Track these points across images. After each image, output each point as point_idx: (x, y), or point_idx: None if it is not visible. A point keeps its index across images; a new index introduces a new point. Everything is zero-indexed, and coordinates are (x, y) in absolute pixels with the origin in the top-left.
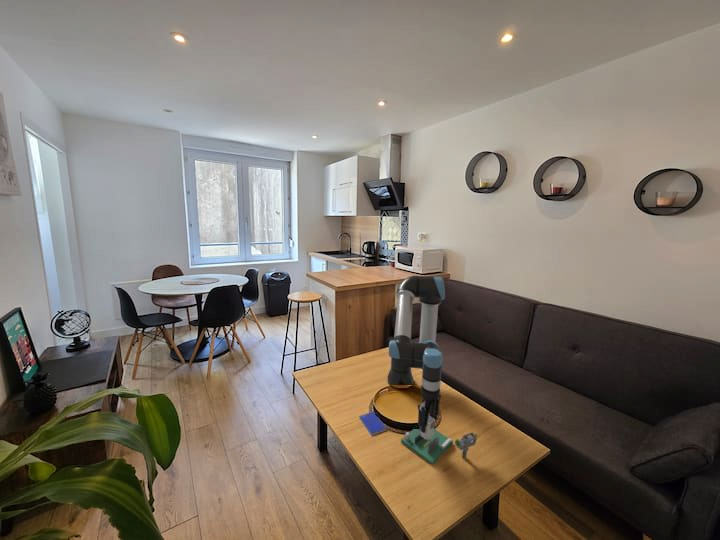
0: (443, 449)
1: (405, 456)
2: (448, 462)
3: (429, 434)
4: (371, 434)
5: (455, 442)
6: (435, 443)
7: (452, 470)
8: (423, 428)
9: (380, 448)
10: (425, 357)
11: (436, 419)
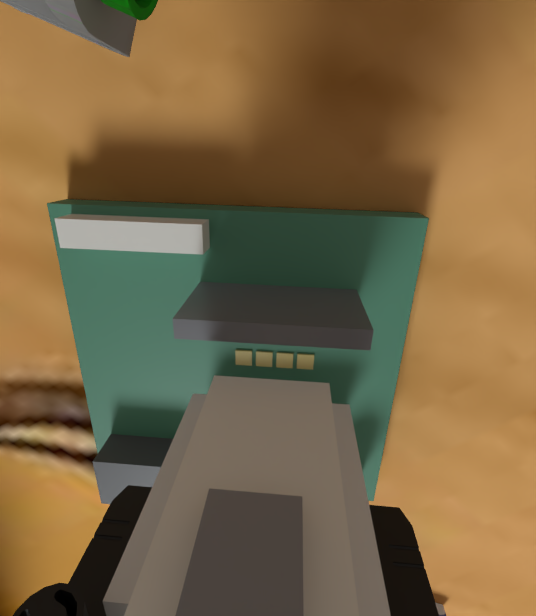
0: (210, 219)
1: (467, 404)
2: (282, 112)
3: (315, 431)
4: (443, 612)
5: (134, 6)
6: (252, 304)
7: (343, 22)
8: (435, 613)
9: (504, 535)
10: None
11: (55, 594)
